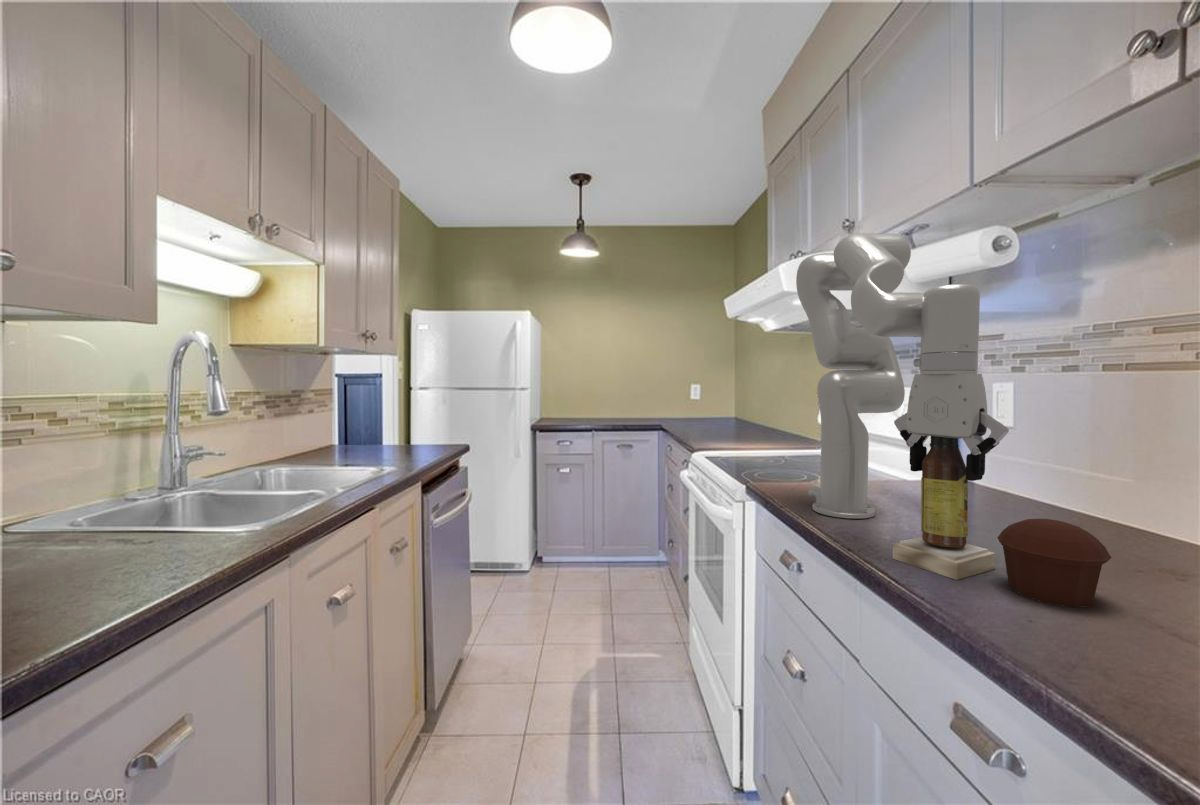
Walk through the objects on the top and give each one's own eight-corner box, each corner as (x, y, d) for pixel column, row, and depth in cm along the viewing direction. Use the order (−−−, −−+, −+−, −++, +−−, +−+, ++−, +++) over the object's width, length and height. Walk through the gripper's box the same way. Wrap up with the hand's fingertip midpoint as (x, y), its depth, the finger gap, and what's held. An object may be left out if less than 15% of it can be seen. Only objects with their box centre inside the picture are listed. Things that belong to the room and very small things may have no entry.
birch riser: (892, 558, 84) (893, 540, 84) (929, 549, 89) (930, 532, 88) (956, 579, 75) (957, 559, 75) (995, 568, 80) (995, 550, 79)
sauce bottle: (975, 551, 78) (978, 421, 78) (930, 547, 79) (933, 420, 79) (954, 540, 84) (957, 420, 85) (913, 537, 86) (916, 419, 86)
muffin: (1110, 594, 70) (1113, 522, 70) (1108, 621, 62) (1112, 540, 62) (1001, 571, 79) (1003, 507, 78) (988, 592, 71) (991, 521, 71)
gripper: (881, 366, 87) (878, 468, 87) (997, 363, 71) (993, 487, 72) (909, 366, 90) (906, 465, 91) (1026, 363, 74) (1021, 483, 75)
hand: (944, 474), depth 81 cm, fingers open, 8 cm apart
